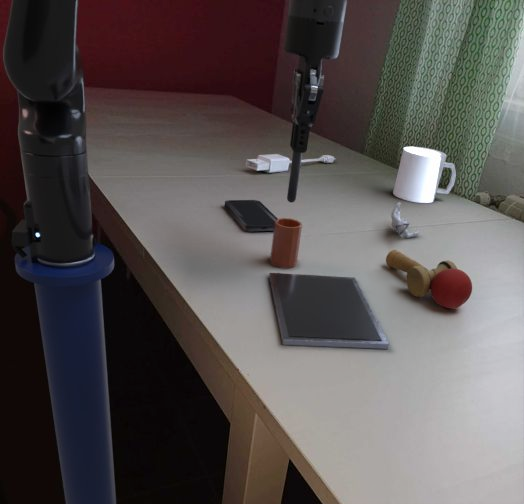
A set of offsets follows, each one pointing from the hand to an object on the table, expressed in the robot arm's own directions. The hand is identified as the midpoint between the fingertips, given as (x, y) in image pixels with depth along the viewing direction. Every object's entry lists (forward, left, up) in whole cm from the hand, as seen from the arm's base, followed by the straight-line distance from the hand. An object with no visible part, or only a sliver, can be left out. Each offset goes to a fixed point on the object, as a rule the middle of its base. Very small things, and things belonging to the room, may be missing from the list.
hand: (298, 149), depth 81 cm
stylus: (0, 0, -8) cm, 8 cm away
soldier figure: (+26, +19, -19) cm, 37 cm away
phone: (-4, +21, -19) cm, 28 cm away
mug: (+39, +45, -19) cm, 62 cm away
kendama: (+22, -7, -19) cm, 30 cm away
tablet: (+4, -16, -18) cm, 25 cm away
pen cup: (0, 0, -18) cm, 18 cm away
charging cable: (+10, +64, -19) cm, 67 cm away
